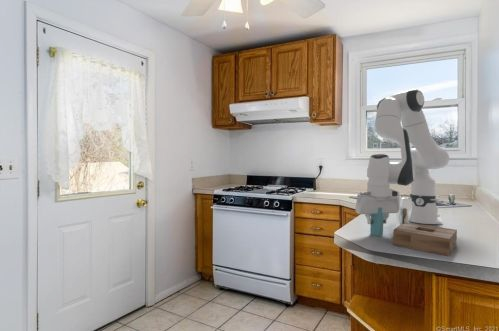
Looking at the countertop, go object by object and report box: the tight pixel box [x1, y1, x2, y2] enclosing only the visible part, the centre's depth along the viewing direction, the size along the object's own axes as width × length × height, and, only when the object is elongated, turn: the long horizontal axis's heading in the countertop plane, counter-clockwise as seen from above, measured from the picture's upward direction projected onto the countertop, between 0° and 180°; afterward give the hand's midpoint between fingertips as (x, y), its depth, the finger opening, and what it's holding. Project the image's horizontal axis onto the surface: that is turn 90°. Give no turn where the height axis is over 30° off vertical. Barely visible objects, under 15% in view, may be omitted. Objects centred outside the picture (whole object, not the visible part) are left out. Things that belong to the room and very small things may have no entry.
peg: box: [369, 208, 384, 237], centre depth 131 cm, size 4×4×12 cm
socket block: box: [392, 222, 458, 257], centre depth 116 cm, size 18×18×6 cm
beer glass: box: [394, 196, 412, 229], centre depth 140 cm, size 7×7×15 cm
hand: (376, 223), depth 131 cm, fingers closed on peg, 5 cm apart
